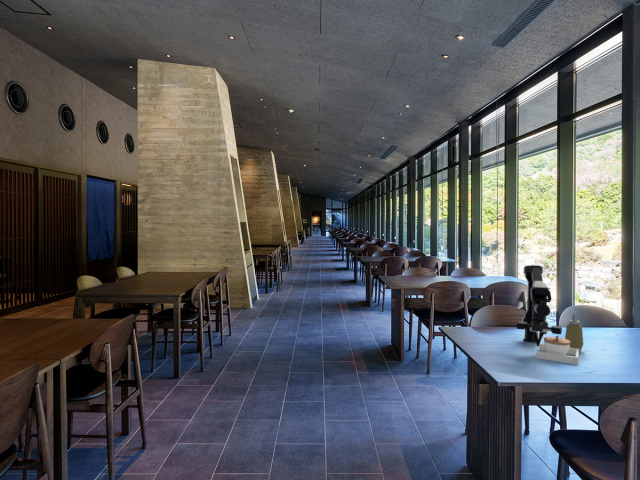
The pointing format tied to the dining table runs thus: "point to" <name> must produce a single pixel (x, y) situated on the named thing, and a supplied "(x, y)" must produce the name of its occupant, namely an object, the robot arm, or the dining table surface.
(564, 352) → the lidded jar
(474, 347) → the dining table surface
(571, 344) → the squeeze bottle
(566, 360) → the box
